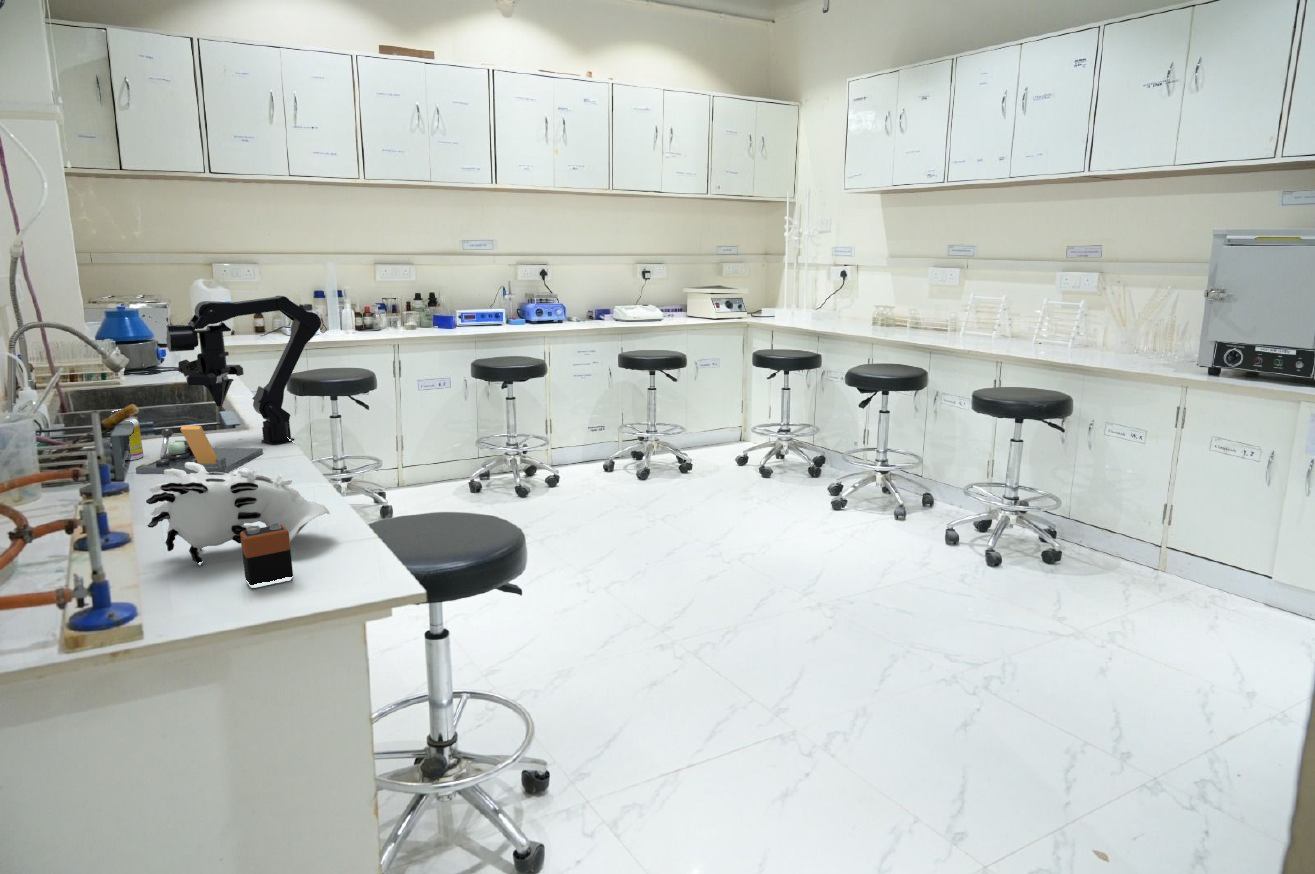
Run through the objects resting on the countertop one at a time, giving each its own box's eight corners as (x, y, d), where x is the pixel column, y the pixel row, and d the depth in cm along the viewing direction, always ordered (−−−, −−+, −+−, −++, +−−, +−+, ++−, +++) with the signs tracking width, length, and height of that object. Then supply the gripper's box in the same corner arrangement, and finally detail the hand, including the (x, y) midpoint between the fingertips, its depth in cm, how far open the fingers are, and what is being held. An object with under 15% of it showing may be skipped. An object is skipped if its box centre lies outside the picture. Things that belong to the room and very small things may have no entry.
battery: (245, 582, 141) (238, 526, 139) (287, 573, 145) (282, 518, 143) (250, 590, 138) (244, 533, 135) (294, 581, 142) (288, 525, 139)
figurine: (332, 568, 155) (142, 576, 141) (322, 540, 169) (149, 544, 155) (337, 480, 152) (144, 479, 138) (327, 459, 166) (151, 457, 152)
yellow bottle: (149, 455, 223) (143, 408, 220) (132, 462, 216) (125, 413, 213) (126, 454, 223) (119, 407, 220) (108, 461, 217) (100, 412, 214)
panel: (182, 452, 225) (180, 439, 225) (263, 453, 225) (262, 440, 225) (134, 474, 205) (132, 459, 204) (224, 474, 205) (222, 460, 204)
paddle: (201, 463, 207) (181, 425, 198) (222, 463, 207) (203, 425, 198) (198, 467, 206) (178, 429, 197) (219, 468, 206) (200, 430, 197)
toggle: (160, 459, 209) (165, 429, 212) (170, 459, 209) (175, 429, 212) (154, 457, 207) (160, 427, 209) (164, 457, 207) (170, 427, 209)
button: (173, 450, 216) (172, 441, 215) (188, 450, 216) (187, 441, 215) (165, 454, 212) (164, 444, 212) (180, 454, 212) (179, 444, 212)
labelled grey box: (189, 444, 224) (189, 439, 224) (204, 444, 224) (204, 439, 224) (174, 445, 217) (174, 440, 217) (190, 445, 217) (190, 440, 217)
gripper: (201, 344, 233) (208, 399, 236) (162, 353, 214) (170, 413, 218) (241, 344, 233) (247, 399, 236) (205, 353, 214) (213, 413, 218)
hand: (219, 406), depth 227 cm, fingers closed
